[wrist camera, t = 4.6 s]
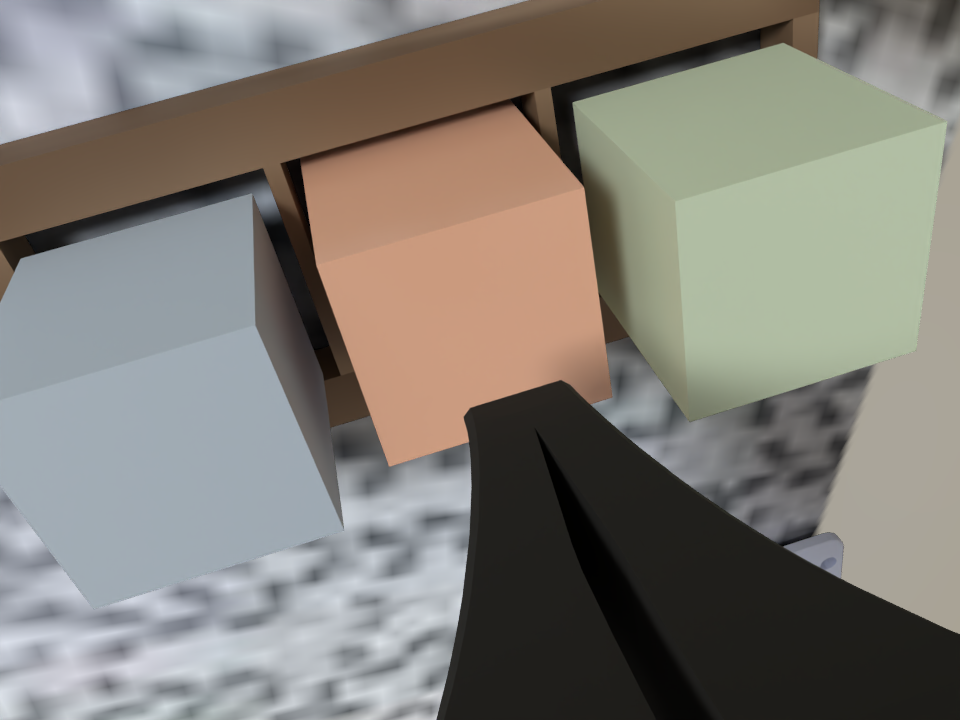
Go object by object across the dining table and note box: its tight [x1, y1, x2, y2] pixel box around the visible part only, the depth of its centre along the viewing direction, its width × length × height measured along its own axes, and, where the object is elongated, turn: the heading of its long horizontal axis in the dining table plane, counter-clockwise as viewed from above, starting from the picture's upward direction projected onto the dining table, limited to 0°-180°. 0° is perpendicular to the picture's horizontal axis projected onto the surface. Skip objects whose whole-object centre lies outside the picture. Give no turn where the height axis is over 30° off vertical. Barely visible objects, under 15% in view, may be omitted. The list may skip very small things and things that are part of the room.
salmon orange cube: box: [300, 99, 612, 467], centre depth 15 cm, size 4×4×4 cm
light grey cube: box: [0, 193, 344, 609], centre depth 14 cm, size 4×4×4 cm
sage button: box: [573, 43, 947, 422], centre depth 14 cm, size 4×4×4 cm
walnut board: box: [0, 0, 820, 428], centre depth 17 cm, size 7×15×1 cm, turn 101°
